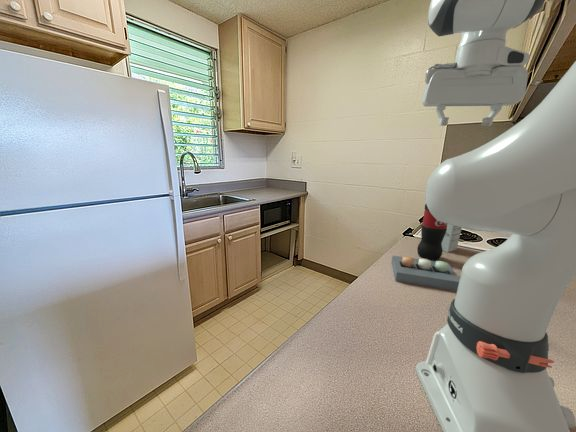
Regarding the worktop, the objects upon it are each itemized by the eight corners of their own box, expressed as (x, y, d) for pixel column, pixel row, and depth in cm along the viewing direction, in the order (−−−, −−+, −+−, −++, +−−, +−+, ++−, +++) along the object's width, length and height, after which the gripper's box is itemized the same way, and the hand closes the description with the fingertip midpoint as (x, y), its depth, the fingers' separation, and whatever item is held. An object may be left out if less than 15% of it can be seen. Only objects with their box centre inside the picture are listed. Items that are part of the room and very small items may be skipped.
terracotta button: (414, 267, 80) (415, 261, 79) (402, 265, 81) (403, 259, 80) (412, 263, 83) (413, 257, 82) (400, 261, 84) (401, 255, 83)
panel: (460, 291, 72) (462, 282, 71) (395, 280, 77) (396, 272, 77) (446, 271, 85) (448, 263, 84) (391, 262, 90) (392, 255, 89)
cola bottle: (444, 262, 92) (461, 183, 84) (420, 260, 93) (435, 182, 85) (435, 254, 100) (449, 180, 92) (413, 252, 101) (425, 179, 93)
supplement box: (430, 246, 108) (435, 219, 105) (440, 244, 111) (445, 217, 108) (447, 252, 102) (453, 223, 99) (457, 249, 105) (463, 221, 102)
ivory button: (431, 270, 78) (432, 263, 78) (418, 268, 79) (420, 262, 79) (428, 265, 81) (429, 259, 81) (416, 263, 83) (417, 257, 82)
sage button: (449, 272, 77) (450, 266, 76) (436, 270, 78) (437, 264, 77) (445, 268, 80) (446, 261, 79) (433, 266, 81) (434, 260, 81)
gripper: (431, 59, 55) (421, 123, 59) (539, 54, 51) (521, 124, 54) (424, 68, 61) (415, 126, 65) (519, 64, 57) (504, 127, 60)
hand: (464, 125), depth 60 cm, fingers open, 8 cm apart
